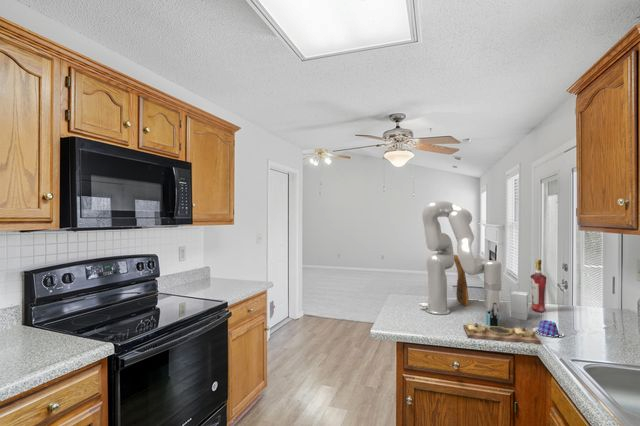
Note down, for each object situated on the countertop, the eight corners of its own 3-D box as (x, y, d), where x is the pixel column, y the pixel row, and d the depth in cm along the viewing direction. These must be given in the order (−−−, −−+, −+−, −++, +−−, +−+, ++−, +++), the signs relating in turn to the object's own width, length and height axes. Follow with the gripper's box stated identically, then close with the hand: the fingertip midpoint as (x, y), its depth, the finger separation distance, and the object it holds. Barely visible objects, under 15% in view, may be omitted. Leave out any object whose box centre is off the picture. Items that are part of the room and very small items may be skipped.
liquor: (527, 309, 190) (527, 258, 189) (541, 309, 189) (541, 258, 189) (535, 313, 182) (535, 260, 182) (549, 313, 182) (549, 260, 182)
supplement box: (526, 320, 171) (526, 295, 170) (510, 317, 175) (510, 293, 175) (528, 316, 177) (528, 292, 176) (512, 314, 181) (512, 290, 181)
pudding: (570, 335, 151) (570, 323, 151) (554, 340, 146) (554, 328, 146) (542, 327, 162) (542, 316, 162) (526, 331, 157) (526, 320, 157)
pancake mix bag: (458, 306, 195) (458, 257, 195) (452, 298, 214) (452, 253, 213) (470, 307, 194) (471, 258, 193) (464, 298, 212) (464, 253, 212)
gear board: (467, 338, 148) (467, 327, 148) (463, 327, 161) (463, 318, 161) (540, 344, 141) (540, 333, 141) (530, 333, 154) (530, 323, 154)
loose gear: (487, 326, 163) (487, 315, 163) (484, 322, 168) (484, 312, 168) (500, 327, 161) (500, 316, 161) (497, 323, 167) (497, 313, 166)
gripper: (480, 282, 174) (480, 317, 174) (487, 290, 157) (487, 329, 157) (496, 283, 172) (496, 318, 172) (505, 291, 155) (505, 330, 155)
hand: (492, 323), depth 165 cm, fingers closed on loose gear, 5 cm apart
